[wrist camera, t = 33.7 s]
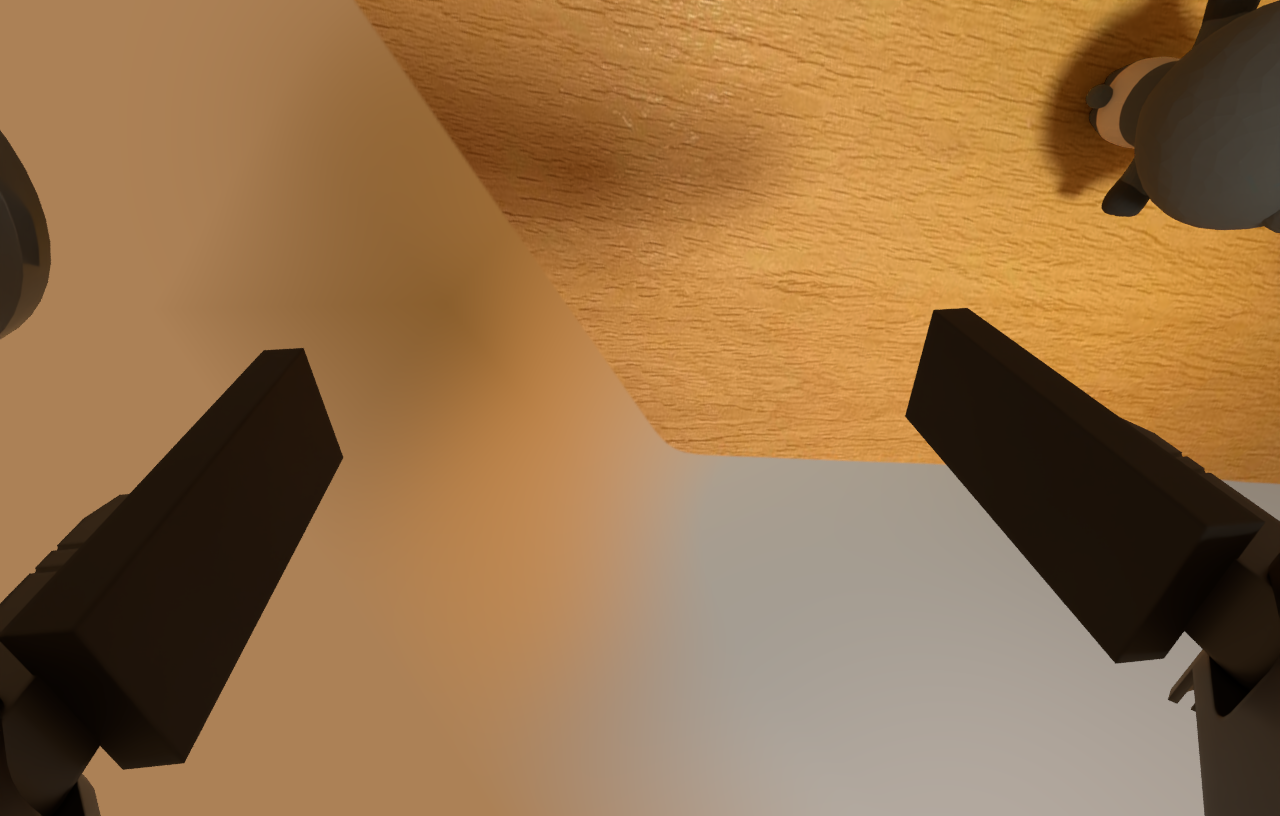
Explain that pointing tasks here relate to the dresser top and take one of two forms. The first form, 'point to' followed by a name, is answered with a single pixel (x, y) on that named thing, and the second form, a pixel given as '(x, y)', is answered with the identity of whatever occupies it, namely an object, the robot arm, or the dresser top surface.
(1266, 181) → the toy
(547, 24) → the dresser top surface
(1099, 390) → the dresser top surface
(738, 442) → the dresser top surface
